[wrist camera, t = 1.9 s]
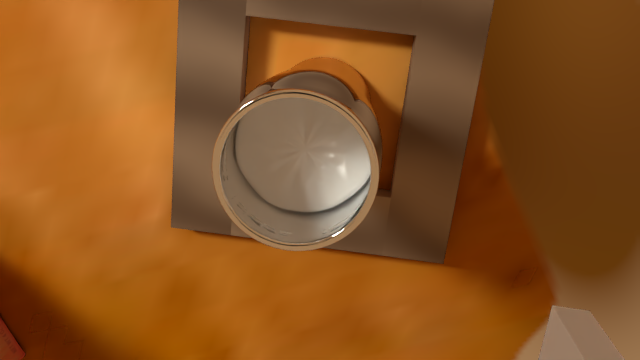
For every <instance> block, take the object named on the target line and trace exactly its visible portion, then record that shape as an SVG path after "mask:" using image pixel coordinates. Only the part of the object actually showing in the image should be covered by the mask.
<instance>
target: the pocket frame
mask: <svg viewBox="0 0 640 360" xmlns="http://www.w3.org/2000/svg"><path fill="white" fill-rule="evenodd" d="M493 4H494V0H179V8H178V38H177V67H176V97H175V127H174V156H173V186H172V215H171V227H173V228H181V229H188V230H196V231H203V232H211V233H218V234H225V235H233V236H240V237H248V238H252V237H250V236H249V235H247V234H246V233H245V232H243V231H242V230H241V229H240V228H239V227H238V226H237V225H236V224H235V223H234V222H233V221H232V220H231V219H230V218H229V216H228V215H227V214H226V212H225V211H224V209H223V207H222V205H221V204H220V202H219V199H218V197H217V194H216V191H215V188H214V184H213V178H212V156H213V150H214V146H215V143H216V140H217V138H218V135H219V133H220V131H221V129H222V128H223V126H224V124H225V123H226V122H227V120H228V119H229V118H230V117H231V115H232V114H233V113H234V111H235V110H236V108H237V107H238V106H239V104H240V103H241V102H242V101H243V99H244V98H245V87H246V73H247V59H248V45H249V30H250V16H254V17H263V18H271V19H280V20H288V21H297V22H305V23H314V24H322V25H331V26H339V27H347V28H356V29H364V30H373V31H381V32H390V33H398V34H407V35H414V40H413V47H412V53H411V60H410V66H409V72H408V79H407V85H406V92H405V98H404V105H403V111H402V117H401V124H400V130H399V137H398V143H397V150H396V156H395V162H394V169H393V175H392V182H391V188H390V190H383V189H378V190H377V194H376V197H375V200H374V203H373V205H372V207H371V209H370V211H369V212H368V214H367V216H366V217H365V218H364V220H363V221H362V222H361V223H360V225H359V226H358V227H357V228H356V229H355V230H353V231H352V232H351V233H350V234H349V235H347V236H346V237H344V238H343V239H341V240H339V241H338V242H336V243H333V244H331V245H329V246H326V247H323V248H330V249H337V250H345V251H352V252H359V253H367V254H374V255H382V256H389V257H397V258H404V259H412V260H419V261H426V262H434V263H441V264H444V258H445V253H446V248H447V243H448V238H449V233H450V227H451V222H452V217H453V212H454V207H455V201H456V196H457V191H458V186H459V181H460V176H461V170H462V165H463V160H464V155H465V150H466V145H467V139H468V134H469V129H470V124H471V119H472V114H473V108H474V103H475V98H476V93H477V88H478V82H479V77H480V72H481V67H482V62H483V57H484V51H485V46H486V41H487V35H488V31H489V25H490V20H491V15H492V10H493Z"/></svg>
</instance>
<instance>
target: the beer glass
mask: <svg viewBox="0 0 640 360" xmlns="http://www.w3.org/2000/svg"><path fill="white" fill-rule="evenodd" d="M382 149H383V147H382V135H381V130H380V126H379V122H378V119H377V116H376V113H375V111H374V109H373V107H372V105H371V98H370V93H369V90H368V87H367V85H366V83H365V81H364V80H363V78H362V77H361V75H360V74H359V73H358V72H357V71H356V70H355V69H354V68H352V67H351V66H350V65H348V64H346V63H345V62H343V61H340V60H337V59H334V58H328V57H317V58H311V59H308V60H305V61H302V62H300V63H298V64H297V65H295V66H294V67H292V68H291V69H290V70H287V71H284V72H281V73H279V74H277V75H275V76H273V77H271V78H269V79H267V80H266V81H264V82H262V83H261V84H260V85H258V86H257V87H256V88H254V89H253V90H252V91H251V92H250V93H249V94H248V95H247V96H246V97H245V98H244V99H243V101H242V102H241V103H240V104H239V106H238V107H237V108H236V110H235V111H234V113H233V114H232V115H231V117H230V118H229V119H228V120H227V122H226V123H225V124H224V126H223V128H222V129H221V131H220V133H219V135H218V138H217V140H216V143H215V146H214V150H213V156H212V178H213V184H214V188H215V191H216V194H217V197H218V199H219V202H220V204H221V205H222V207H223V209H224V211H225V212H226V214H227V215H228V216H229V218H230V219H231V220H232V221H233V222H234V223H235V224H236V225H237V226H238V227H239V228H240V229H241V230H242V231H243V232H245V233H246V234H247V235H249V236H250V237H252V238H253V239H255V240H257V241H259V242H261V243H263V244H265V245H268V246H271V247H274V248H278V249H283V250H289V251H308V250H314V249H319V248H323V247H326V246H329V245H331V244H333V243H336V242H338V241H339V240H341V239H343V238H344V237H346V236H347V235H349V234H350V233H351V232H352V231H353V230H355V229H356V228H357V227H358V226H359V225H360V223H361V222H362V221H363V220H364V218H365V217H366V216H367V214H368V212H369V211H370V209H371V207H372V205H373V203H374V200H375V197H376V194H377V190H378V185H379V176H380V171H381V165H382Z"/></svg>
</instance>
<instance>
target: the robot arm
mask: <svg viewBox="0 0 640 360" xmlns="http://www.w3.org/2000/svg"><path fill="white" fill-rule="evenodd" d="M538 360H624V358H623V357H622V355H621V354H620V353H619V351H618V350H617V349H616V347H615V346H614V344H613V343H612V341H611V340H610V339H609V337H608V336H607V334H606V333H605V332H604V330H603V329H602V327H601V326H600V325H599V323H598V322H597V320H596V319H595V318H594V316H593V315H592V313H591V312H590V311H589V310H582V309H575V308H568V307H561V306H553V305H552V309H551V312H550V316H549V320H548V324H547V328H546V332H545V335H544V339H543V343H542V347H541V351H540V355H539V358H538Z"/></svg>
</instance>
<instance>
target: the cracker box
mask: <svg viewBox="0 0 640 360" xmlns="http://www.w3.org/2000/svg"><path fill="white" fill-rule="evenodd" d="M24 356H25V352H24V351H23V350H22V349H21V347H20V346H19V344H18V343H17V341H16V340H15V338H14V337H13V335H12V334H11V332H10V331H9V329H8V328H7V326H6V325H5V323H4V322H3V320H2V319H1V317H0V360H21V359H22V358H23V357H24Z"/></svg>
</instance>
